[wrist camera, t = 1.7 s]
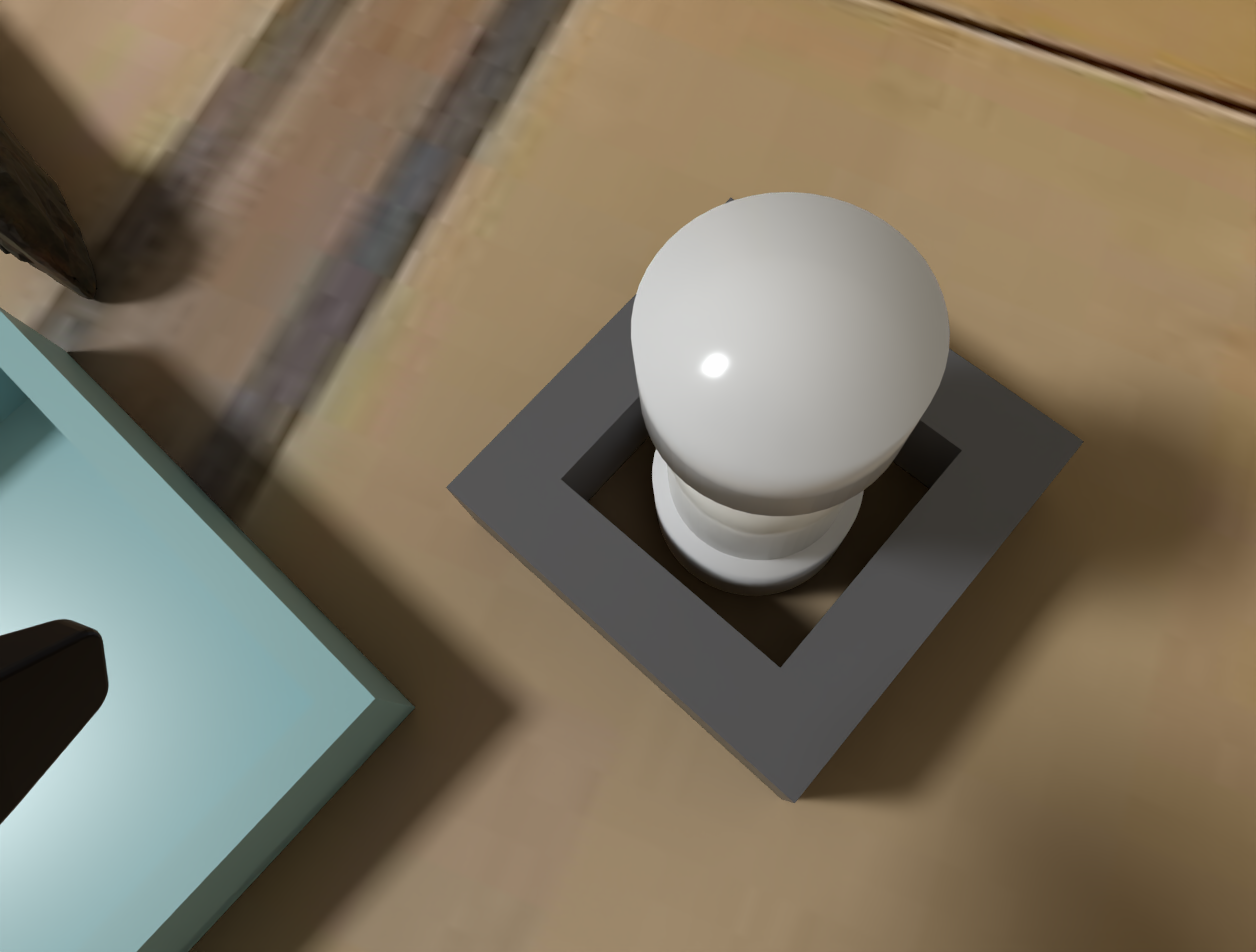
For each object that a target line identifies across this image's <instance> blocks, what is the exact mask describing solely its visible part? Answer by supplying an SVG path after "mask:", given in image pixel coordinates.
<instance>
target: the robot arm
mask: <svg viewBox="0 0 1256 952" xmlns="http://www.w3.org/2000/svg"><path fill="white" fill-rule="evenodd" d="M108 688H109V681H108V673H107V666H106V659H105V651H104V644H103V639H102V636H101V635H100V633H99V632H98V631H97V630H95V629H93V628H91V627H88V626H86V625H83V624H80V623H78V622H75V621H73V620H68V619H58V620H53V621H50V622H46V623H43V624H39V625H35V626H32V627H28V628H25V629H21V630H18V631H14V632H11V633H7V634H4V635H0V825H1V824H2V822H3V821H4V820H5V819H6V818H7V817H8V816H9V815H10V813H11V812H12V811H13V810H14V809H15V808H16V807H17V806H18V804H19V803H20V802H21V801H22V800H23V798H24V797H25V796H26V795H27V794H28V793H29V791H30V790H31V789H32V788H33V787H34V785H35V784H36V783H37V782H38V781H39V780H40V778H41V777H42V776H43V775H44V774H45V772H46V771H47V770H48V769H49V768H50V767H51V765H52V764H53V763H54V762H55V761H56V760H57V758H58V757H59V756H60V755H61V754H62V752H63V751H64V750H65V749H66V748H67V747H68V745H69V744H70V743H71V742H72V741H73V739H74V738H75V737H76V736H77V735H78V734H79V732H80V731H81V730H82V729H83V728H84V726H85V725H86V724H87V723H88V722H89V721H90V719H91V718H92V717H93V716H94V715H95V713H96V712H97V711H98V710H99V708H100V707H101V706H102V704H103V702H104V700H105V698H106V696H107V693H108Z"/></svg>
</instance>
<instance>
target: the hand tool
mask: <svg viewBox="0 0 1256 952" xmlns="http://www.w3.org/2000/svg"><path fill="white" fill-rule="evenodd" d="M0 249H1V250H2V251H3V252H4V253H5V254H9V253H11V254H13V255H14V256H15V257H16V258H18V259H19V260H20V261H24V262H28V263H29V264H30V265H32V266H33V267H35V268H37V269H39V270H41V271H43V272H44V273H46V274H47V275H49V276H50V277H52V278H53V279H54V280H56V281H57V282H59V283H60V284H62V285H64V286H66V287H67V288H69V289H71V290H72V291H74V292H75V293H77V294H78V295H80V296H82V297H85V298H87V299H93V298H94V296H95V292H96V289H97V288H96V278H95V274H94V270H93V266H92V263H91V261H90V258H89V255H88V251H87V248H86V246H85V244H84V242H83V238H82V235H81V232H80V229H79V227H78V225H77V224H76V222H75V221H74V219H73V218H72V216H71V214H70V213H69V211H68V209H67V206H66V203H65V201H64V199H63V197H62V195H61V193H60V191H59V188H58V186H57V184H56V183H55V182H54V181H53V180H52V179H51V178H50V177H49V176H48V175H47V174H46V172H45V171H43V170H42V169H41V168H40V167H39V166H38V165H36V163H35V162H34V160H33V158H32V157H31V156H30V154H29V153H28V152H27V151H26V150H25V149H24V148H23V147H22V146H21V144H20V143H19V142H18V140H17V139H16V137H15V136H14V135H13V133H12V132H11V131H10V129H9V128H8V126H7V125H6V124H5V122H4V121H3V119H2V118H1V117H0Z"/></svg>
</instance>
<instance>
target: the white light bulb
mask: <svg viewBox="0 0 1256 952" xmlns="http://www.w3.org/2000/svg"><path fill="white" fill-rule="evenodd" d="M949 337H950V329H949V320H948V312H947V308H946V305H945V301H944V297H943V294H942V291H941V289H940V287H939V284H938V282H937V280H936V277H935V276H934V274H933V272H932V271H931V269H930V267H929V266H928V264H927V262H926V261H925V259H924V258H923V257H922V256H921V254H920V253H919V252H918V251H917V249H916V248H915V247H914V246H913V245H912V244H911V243H910V242H909V241H908V240H907V239H906V238H905V237H904V236H903V235H902V234H901V233H900V232H899V231H897V230H896V229H895V228H893V227H892V226H891V225H889V224H888V223H887V222H885V221H884V220H882V219H880V218H879V217H877V216H875V215H873V214H872V213H870V212H868V211H866V210H864V209H862V208H859V207H857V206H855V205H852V204H850V203H847V202H844V201H841V200H837V199H834V198H831V197H826V196H820V195H815V194H808V193H795V192H781V193H767V194H760V195H753V196H749V197H745V198H741V199H737V200H733V201H731V202H728V203H726V204H723V205H720V206H718V207H715V208H713V209H711V210H709V211H708V212H706V213H704V214H702V215H700V216H698V217H697V218H695V219H694V220H692V221H691V222H689V223H688V224H687V225H685V226H684V227H682V228H681V229H680V230H679V231H678V232H677V233H676V234H675V235H673V236H672V237H671V238H670V239H669V240H668V241H667V242H666V244H665V245H664V246H663V247H662V248H661V249H660V250H659V252H658V253H657V254H656V256H655V257H654V259H653V260H652V262H651V263H650V265H649V266H648V268H647V270H646V272H645V274H644V276H643V278H642V280H641V282H640V285H639V288H638V291H637V294H636V297H635V301H634V306H633V312H632V318H631V342H632V349H633V357H634V363H635V370H636V377H637V383H638V390H639V397H640V403H641V410H642V415H643V418H644V422H645V425H646V429H647V431H648V433H649V435H650V438H651V440H652V442H653V444H654V446H655V447H656V451H655V454H654V460H653V467H652V482H653V490H654V497H655V504H656V510H657V517H658V522H659V526H660V529H661V532H662V535H663V537H664V539H665V542H666V544H667V545H668V547H669V549H670V551H671V552H672V554H673V555H674V556H675V558H676V559H677V560H678V561H679V563H680V564H681V565H682V566H683V567H684V568H685V569H686V570H687V571H688V572H690V573H691V574H692V575H694V576H695V577H696V578H698V579H699V580H701V581H703V582H704V583H706V584H708V585H710V586H712V587H714V588H717V589H719V590H722V591H725V592H729V593H733V594H739V595H746V596H762V595H770V594H776V593H779V592H783V591H787V590H789V589H792V588H794V587H796V586H799V585H800V584H802V583H804V582H805V581H807V580H809V579H810V578H811V577H813V576H814V575H815V574H817V573H818V572H819V571H820V570H821V569H822V568H823V567H824V566H825V565H826V564H827V563H828V561H829V560H830V559H831V557H832V556H833V555H834V553H835V552H836V550H837V549H838V547H839V546H840V544H841V542H842V541H843V539H844V538H845V536H846V535H847V533H848V531H849V530H850V528H851V526H852V524H853V522H854V521H855V519H856V517H857V514H858V511H859V508H860V506H861V501H862V497H863V492H864V489H866V488H867V487H868V486H870V485H871V484H872V483H874V482H875V481H876V480H877V479H878V478H879V477H880V476H881V475H882V474H883V473H884V472H885V471H886V470H887V468H888V467H889V466H890V464H891V463H892V461H893V460H894V459H895V457H896V456H897V455H898V453H899V451H900V450H901V448H902V447H903V445H904V444H905V442H906V440H907V439H908V437H909V436H910V434H911V433H912V431H913V429H914V428H915V426H916V425H917V423H918V422H919V420H920V418H921V417H922V415H923V414H924V412H925V411H926V409H927V407H928V406H929V404H930V403H931V401H932V399H933V397H934V395H935V393H936V391H937V389H938V388H939V385H940V382H941V380H942V377H943V374H944V371H945V368H946V363H947V358H948V353H949Z"/></svg>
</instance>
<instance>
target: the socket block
mask: <svg viewBox="0 0 1256 952" xmlns="http://www.w3.org/2000/svg"><path fill="white" fill-rule="evenodd" d="M733 200H734V199H732V198H730V199H729V200H728V201H727V202H726V203H728V202H731V201H733ZM726 203H725V204H726ZM635 297H636V295H635V296H634V297H633V298H632V299H631V300H630V301H629V302H628V303H627V304H626V305H625V306H624V307H623V308H622V309H621V310H620V311H619V312H618V313H617V314H616V315H615V316H614V317H613V318H612V319H611V320H610V321H609V322H608V323H607V324H606V325H605V326H604V327H603V328H602V329H601V330H600V331H599V332H598V333H597V334H596V335H595V336H594V337H593V338H592V339H591V340H590V341H589V342H588V343H587V344H586V346H585V347H584V348H583V349H582V350H581V351H580V352H579V353H578V354H577V355H576V356H575V357H574V358H573V359H572V360H571V361H570V362H569V363H568V364H567V365H566V366H565V367H564V368H563V369H562V370H561V371H560V372H559V373H558V374H557V375H556V376H555V377H554V378H553V379H552V380H551V381H550V382H549V383H548V384H547V385H546V386H545V387H544V388H543V389H542V390H541V391H540V392H539V393H538V394H537V395H536V396H535V397H534V398H533V399H532V400H531V402H530V403H529V404H528V405H527V406H526V407H525V408H524V409H523V410H522V411H521V412H520V413H519V414H518V415H517V416H516V417H515V418H514V419H513V420H512V421H511V422H510V423H509V424H508V425H507V426H506V427H505V428H504V429H503V430H502V431H501V432H500V433H499V434H498V435H497V436H496V437H495V438H494V439H493V440H492V441H491V442H490V443H489V444H488V445H487V446H486V447H485V448H484V449H483V450H482V451H481V452H480V453H479V454H478V455H477V456H476V458H475V459H474V460H473V461H472V462H471V463H470V464H469V465H468V466H467V467H466V468H465V469H464V470H463V471H462V472H461V473H460V474H459V475H458V476H457V477H456V478H455V479H454V480H453V481H452V482H451V483H450V484H449V485H448V486H447V487H446V488H447V489H448V490H449V491H450V492H451V493H452V495H453V496H454V497H455V498H456V499H457V500H458V501H459V502H460V504H461V505H462V506H463V507H464V508H465V509H466V510H467V512H468V513H469V514H470V515H471V516H472V517H473V518H474V520H475V521H476V522H477V523H479V524H480V525H481V526H482V527H483V528H484V529H485V530H486V531H487V532H488V533H490V534H491V535H492V536H493V537H494V538H495V539H496V540H497V541H498V542H499V543H501V544H502V545H503V546H504V547H505V548H506V549H507V550H508V551H509V552H510V553H512V554H513V555H514V556H515V557H516V558H517V559H518V560H519V561H520V562H521V563H523V564H524V565H525V566H526V567H527V568H528V569H529V570H530V571H531V572H532V573H534V574H535V575H536V576H537V577H538V578H539V579H540V580H541V581H542V582H543V583H545V584H546V585H547V586H548V587H549V588H550V589H551V590H552V591H553V592H554V593H556V594H557V595H558V596H559V597H560V598H561V599H562V600H563V601H564V602H565V603H567V604H568V605H569V606H570V607H571V608H572V609H573V610H574V611H575V612H576V613H577V614H579V615H580V616H581V617H582V618H583V619H584V620H585V621H586V622H587V623H588V624H590V625H591V626H592V627H593V628H594V629H595V630H596V631H597V632H598V633H599V634H601V635H602V636H603V637H604V638H605V639H606V640H607V641H608V642H609V643H610V644H612V645H613V646H614V647H615V648H616V649H617V650H618V651H619V652H620V653H621V654H623V655H624V656H625V657H626V658H627V659H628V660H629V661H630V662H631V663H632V664H634V665H635V666H636V667H637V668H638V669H639V670H640V671H641V672H642V673H643V674H645V675H646V676H647V677H648V678H649V679H650V680H651V681H652V682H653V683H654V684H656V685H657V686H658V687H659V688H660V689H661V690H662V691H663V692H664V693H665V694H667V695H668V696H669V697H670V698H671V699H672V700H673V701H674V702H675V703H676V704H677V705H679V706H680V707H681V708H682V709H683V710H684V711H685V712H686V713H687V714H688V715H690V716H691V717H692V718H693V719H694V720H695V721H696V722H697V723H698V724H699V725H701V726H702V727H703V728H704V729H705V730H706V731H707V732H708V733H709V734H710V735H712V736H713V737H714V738H715V739H716V740H717V741H718V742H719V743H720V744H721V745H723V746H724V747H725V748H726V749H727V750H728V751H729V752H730V753H731V754H732V755H734V756H735V757H736V758H737V759H738V760H739V761H740V762H741V763H742V764H743V765H745V766H746V767H747V768H748V769H749V770H750V771H751V772H752V773H753V774H754V775H756V776H757V777H758V778H759V779H760V780H761V781H762V782H763V783H764V784H765V785H767V786H768V787H769V788H770V789H771V790H772V791H773V792H774V793H775V794H776V795H777V796H779V797H780V798H781V799H783V800H786V801H789V802H792V803H795V802H796V801H797V800H798V798H799V797H800V796H801V795H802V793H803V792H804V791H805V790H806V788H807V787H808V786H809V785H810V783H811V782H812V781H813V780H814V778H815V777H816V776H817V775H818V773H819V772H820V771H821V770H822V768H823V767H824V766H825V765H826V763H827V762H828V761H829V760H830V758H831V757H832V756H833V755H834V753H835V752H836V751H837V750H838V748H839V747H840V746H841V745H842V743H843V742H844V741H845V740H846V738H847V737H848V736H849V735H850V733H851V732H852V731H853V730H854V728H855V727H856V726H857V725H858V723H859V722H860V721H861V720H862V718H863V717H864V716H865V715H866V713H867V712H868V711H869V710H870V708H871V707H872V706H873V705H874V703H875V702H876V701H877V700H878V698H879V697H880V696H881V695H882V693H883V692H884V691H885V690H886V688H887V687H888V686H889V685H890V683H891V682H892V681H893V680H894V678H895V677H896V676H897V675H898V673H899V672H900V671H901V670H902V668H903V667H904V666H905V665H906V663H907V662H908V661H909V660H910V658H911V657H912V656H913V655H914V653H915V652H916V651H917V650H918V648H919V647H920V646H921V645H922V643H923V642H924V641H925V640H926V638H927V637H928V636H929V635H930V633H931V632H932V631H933V630H934V628H935V627H936V626H937V625H938V623H939V622H940V621H941V620H942V618H943V617H944V616H945V615H946V613H947V612H948V611H949V610H950V608H951V607H952V606H953V605H954V603H955V602H956V601H957V600H958V598H959V597H960V596H961V595H962V593H963V592H964V591H965V590H966V588H967V587H968V586H969V585H970V583H971V582H972V581H973V580H974V578H975V577H976V576H977V575H978V573H979V572H980V571H981V570H982V568H983V567H984V566H985V565H986V563H987V562H988V561H989V560H990V558H991V557H992V556H993V555H994V553H995V552H996V551H997V550H998V548H999V547H1000V546H1001V545H1002V543H1003V542H1004V541H1005V540H1006V538H1007V537H1008V536H1009V535H1010V533H1011V532H1012V531H1013V530H1014V528H1015V527H1016V526H1017V525H1018V523H1019V522H1020V521H1021V520H1022V518H1023V517H1024V516H1025V515H1026V513H1027V512H1028V511H1029V510H1030V508H1031V507H1032V506H1033V505H1034V503H1035V502H1036V501H1037V500H1038V498H1039V497H1040V496H1041V495H1042V493H1043V492H1044V491H1045V490H1046V488H1047V487H1048V486H1049V485H1050V483H1051V482H1052V481H1053V480H1054V478H1055V477H1056V476H1057V475H1058V473H1059V472H1060V471H1061V470H1062V468H1063V467H1064V466H1065V465H1066V463H1067V462H1068V461H1069V460H1070V458H1071V457H1072V456H1073V455H1074V453H1075V452H1076V451H1077V450H1078V448H1079V447H1080V446H1081V445H1082V443H1083V442H1084V441H1082V440H1081V439H1079V438H1078V437H1076V436H1075V435H1074V434H1072V433H1071V432H1069V431H1068V430H1066V429H1065V428H1063V427H1062V426H1061V425H1059V424H1058V423H1056V422H1055V421H1053V420H1052V419H1050V418H1049V417H1048V416H1046V415H1045V414H1043V413H1042V412H1040V411H1039V410H1037V409H1036V408H1035V407H1033V406H1032V405H1030V404H1029V403H1027V402H1026V401H1024V400H1023V399H1021V398H1020V397H1019V396H1017V395H1016V394H1014V393H1013V392H1011V391H1010V390H1008V389H1007V388H1006V387H1004V386H1003V385H1001V384H1000V383H998V382H997V381H995V380H994V379H993V378H991V377H990V376H988V375H987V374H985V373H984V372H982V371H981V370H980V369H978V368H977V367H975V366H974V365H972V364H971V363H969V362H968V361H967V360H965V359H964V358H962V357H961V356H959V355H958V354H956V353H955V352H953V351H952V350H951V349H949V353H948V358H947V363H946V368H945V371H944V374H943V377H942V380H941V382H940V385H939V388H938V389H937V391H936V393H935V395H934V397H933V399H932V401H931V403H930V404H929V406H928V407H927V409H926V411H925V412H924V414H923V415H922V417H921V418H920V420H919V422H918V423H917V425H916V426H915V428H914V429H913V431H912V433H911V434H910V436H909V437H908V439H907V440H906V442H905V444H904V445H903V447H902V448H901V450H900V451H899V453H898V455H897V456H896V457H895V459H894V460H893V462H895V463H896V464H897V465H899V466H900V467H901V468H903V469H904V470H905V471H907V472H908V473H909V474H911V475H912V476H913V477H915V478H916V479H917V480H919V481H920V482H921V483H923V484H924V485H926V486H927V487H928V488H930V489H929V491H928V492H927V493H926V494H925V495H924V496H923V498H922V499H921V500H920V501H919V502H918V504H917V505H916V506H915V507H914V508H913V510H912V511H911V512H910V513H909V514H908V516H907V517H906V518H905V519H904V520H903V522H902V523H901V524H900V525H899V526H898V528H897V529H896V530H895V531H894V532H893V534H892V535H891V536H890V537H889V538H888V540H887V541H886V542H885V543H884V544H883V546H882V547H881V548H880V549H879V550H878V552H877V553H876V554H875V555H874V556H873V558H872V559H871V560H870V561H869V562H868V564H867V565H866V566H865V567H864V568H863V570H862V571H861V572H860V573H859V574H858V576H857V577H856V578H855V579H854V580H853V582H852V583H851V584H850V585H849V586H848V588H847V589H846V590H845V591H844V592H843V593H842V595H841V596H840V597H839V598H838V599H837V601H836V602H835V603H834V604H833V605H832V607H831V608H830V609H829V610H828V611H827V613H826V614H825V615H824V616H823V617H822V619H821V620H820V621H819V622H818V623H817V625H816V626H815V627H814V628H813V629H812V631H811V632H810V633H809V634H808V635H807V637H806V638H805V639H804V640H803V641H802V643H801V644H800V645H799V646H798V647H797V649H796V650H795V651H794V652H793V653H792V655H791V656H790V657H789V658H788V659H787V661H786V662H785V663H784V664H783V665H782V667H781V668H780V667H779V666H777V665H776V664H775V663H774V662H773V661H772V660H770V659H769V658H768V657H767V656H766V655H765V654H763V653H762V652H761V651H760V650H759V649H758V648H757V647H755V646H754V645H753V644H752V643H751V642H750V641H748V640H747V639H746V638H745V637H744V636H743V635H741V634H740V633H739V632H738V631H737V630H736V629H734V628H733V627H732V626H731V625H730V624H729V623H727V622H726V621H725V620H724V619H723V618H722V617H720V616H719V615H718V614H717V613H716V612H715V611H713V610H712V609H711V608H710V607H709V606H708V605H706V604H705V603H704V602H703V601H702V600H701V599H700V598H698V597H697V596H696V595H695V594H694V593H693V592H691V591H690V590H689V589H688V588H687V587H686V586H684V585H683V584H682V583H681V582H680V581H679V580H677V579H676V578H675V577H674V576H673V575H672V574H670V573H669V572H668V571H667V570H666V569H665V568H663V567H662V566H661V565H660V564H659V563H658V562H656V561H655V560H654V559H653V558H652V557H651V556H649V555H648V554H647V553H646V552H645V551H644V550H643V549H641V548H640V547H639V546H638V545H637V544H636V543H634V542H633V541H632V540H631V539H630V538H629V537H627V536H626V535H625V534H624V533H623V532H622V531H620V530H619V529H618V528H617V527H616V526H615V525H613V524H612V523H611V522H610V521H609V520H608V519H606V518H605V517H604V516H603V515H602V514H601V513H599V512H598V511H597V510H596V509H595V508H594V507H592V506H591V505H590V504H589V503H588V501H589V500H590V498H591V497H592V496H593V495H594V494H595V493H596V492H597V491H598V490H599V489H600V488H601V487H602V486H603V485H604V484H605V482H606V481H607V480H608V479H609V478H610V477H611V476H612V475H613V474H614V473H615V472H616V471H617V470H618V469H619V467H620V466H621V465H622V464H623V463H624V462H625V461H626V460H627V459H628V458H629V457H630V456H631V455H632V454H633V452H634V451H635V450H636V449H637V448H638V447H639V446H640V445H641V444H642V443H643V442H644V441H645V440H646V439H647V438H648V436H649V433H648V431H647V429H646V425H645V422H644V418H643V415H642V410H641V403H640V397H639V390H638V383H637V377H636V370H635V363H634V357H633V349H632V342H631V318H632V312H633V306H634V301H635Z"/></svg>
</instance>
